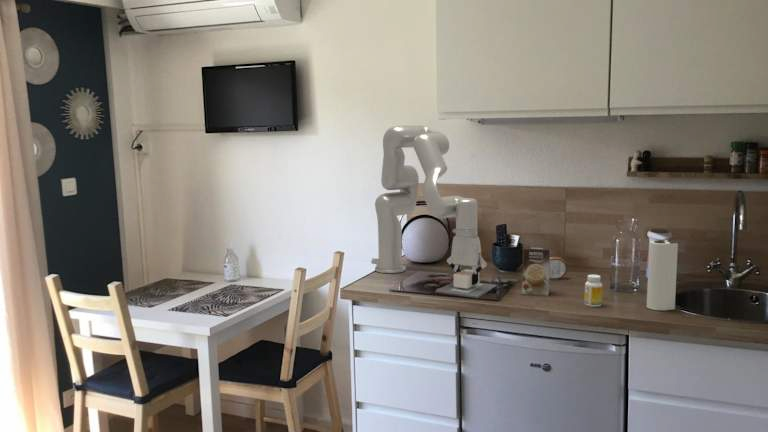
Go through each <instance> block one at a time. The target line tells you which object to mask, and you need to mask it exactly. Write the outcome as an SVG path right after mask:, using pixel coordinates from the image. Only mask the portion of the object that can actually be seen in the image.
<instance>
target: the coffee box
mask: <svg viewBox="0 0 768 432" xmlns="http://www.w3.org/2000/svg"><path fill="white" fill-rule="evenodd" d="M522 253H523V255H522V286H521V294H522V295H530V296H531V295H534V296H545V297H546V296H549V293H550V279H549V273H550V257H551V247H550V246H542V245H541V246H537V245H524V246H523V250H522Z"/></svg>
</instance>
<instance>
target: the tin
mask: <svg viewBox="0 0 768 432" xmlns="http://www.w3.org/2000/svg"><path fill="white" fill-rule="evenodd" d="M567 273H568V265H567V262H566V261H565V260H564V259H563V258H562V257H559V256H550V273H549V280H560V279H563V278H564V277H565V276H566V274H567Z"/></svg>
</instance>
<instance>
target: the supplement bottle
mask: <svg viewBox="0 0 768 432" xmlns="http://www.w3.org/2000/svg"><path fill="white" fill-rule="evenodd" d="M586 279H587V281H586V282H585V283H584V297H583V300H584V305H585V306H587V307H592V308H594V307H595V308H599V307H601V306H602V302H603V283H602V281H601V275H598V274H587V278H586Z"/></svg>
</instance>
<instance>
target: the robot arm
mask: <svg viewBox="0 0 768 432" xmlns="http://www.w3.org/2000/svg"><path fill="white" fill-rule="evenodd" d="M382 148H383V149H382V150H383V151H382V152H383V156H382V157H383V159H382V168H381V180H380V183H381V186H382V188H383V189H385V190H387V191H392V192H386V193H382V194H380V195H378V197H377V198H376V199H375V202H374V207H375V213H376V219H377V233H378V234H377V236H378V237H377V239H378V241H377V242H378V243H377V244H378V245H377V246H378V258H374V257H373V258H372V259H371V260H370V261H371V263H370V264H373V265H376V266H375V267H374V271H376V272H377V273H382V274H397V273H402V272H403V273H404V272H405V271H406V270H407V267H406V265H403V246H402V245H403V243H402V242H403V237H402V233H403V232H402V229H403V228H402V225H401V222H400V220H399V219H398V216H405V215H410V214H411V213H413V212H414V211H415V209H416V206H417V200H418V192H419V191H418V190H419V181H420V179H419V173H418V171H417V169H416V168H415V167H414V166H412V165H406V164H405V159H406V157H405V152H404V150H403V149H404V148H406V149H407V148H409V149H410V148H413V149H414V153H415V154H416V157H417V159H418V162H419V163H420V166H421V168H422V171H423V173H424V175H425V179H424V182H423V189H422V192H423V199H424V202H425V203H426V206H427V209H428V210H429V212H430V214H431V215H432V216H433V217H434V218H437V219H447V218H455V228H452V233H454V235H455V236H453V238H452V244H451V253H450V256H449V257H448V258H447V259H446V262H447V264H448V265H449V267H451V269H452V270H453V272H454V273H457V272H460V271H462V270H461V267H462V266H463V267H471V270H473V274H472V285H475V284H477V282H478V273H479V274H480V272H481V271H482V270H483V269H485V268H486V266H488V263H487V262H486V261H485V259H484V258H483V256H482V246H481V240H480V237H479V236H478V207H479V205H478V201H477V199H475V198H473V197H463V196H460V195H449V196H441V195H440V192H439V189H438V186H437V184H438V183H437V182H438V179H439V178H441V177H443V176H444V175H445V174H446V172H447V171H448V166H447V164H446V161H445V159H444V158H443V157H444V156H443V155H446V154H447V153H448V151H449V150H450V141H449V138H448V137H447V136H446V135H445V134H444V133H442V132H440V131H437V130H436V129H433V128H431V127H428V126H425V125H416V124H413V125H406V124H405V125H403V124H402V125H395V126H391V127H389V128H387V129H386V131H385V132H384V134H383V137H382ZM396 190H399V191H396ZM394 191H395V192H394Z"/></svg>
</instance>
